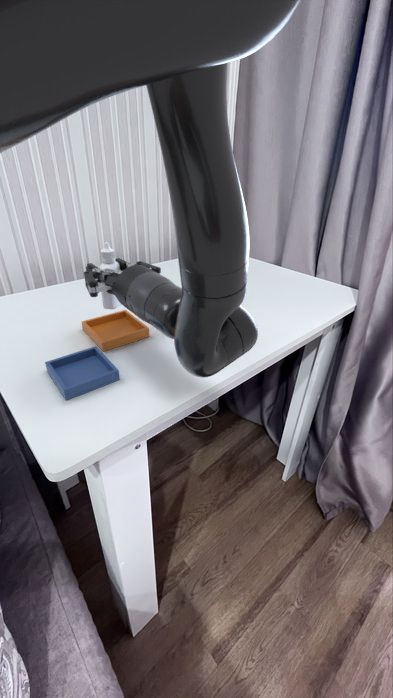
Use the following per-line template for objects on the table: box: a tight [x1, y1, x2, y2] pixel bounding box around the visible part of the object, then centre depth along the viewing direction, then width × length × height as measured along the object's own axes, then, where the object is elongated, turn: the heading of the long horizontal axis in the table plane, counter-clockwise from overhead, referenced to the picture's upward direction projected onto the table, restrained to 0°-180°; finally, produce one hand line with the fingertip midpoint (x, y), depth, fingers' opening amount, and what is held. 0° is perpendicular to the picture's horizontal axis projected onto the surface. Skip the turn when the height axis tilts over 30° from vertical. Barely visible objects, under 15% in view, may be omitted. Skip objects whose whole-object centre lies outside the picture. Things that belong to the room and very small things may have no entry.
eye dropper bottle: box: [98, 241, 122, 310], centre depth 62 cm, size 4×6×12 cm
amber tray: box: [81, 309, 150, 353], centre depth 69 cm, size 10×10×2 cm
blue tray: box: [44, 345, 121, 401], centre depth 56 cm, size 9×9×2 cm
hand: (103, 266), depth 63 cm, fingers closed on eye dropper bottle, 5 cm apart
